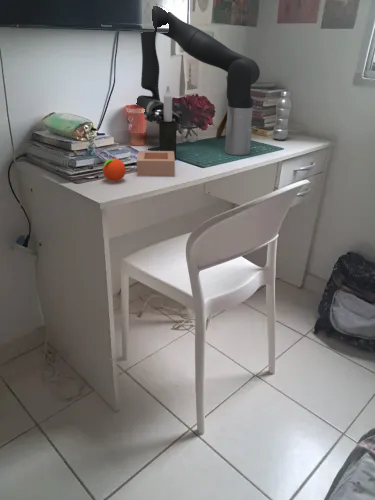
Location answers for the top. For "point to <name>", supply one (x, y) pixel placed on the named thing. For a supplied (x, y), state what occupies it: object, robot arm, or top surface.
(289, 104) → the plastic bottle
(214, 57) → the robot arm
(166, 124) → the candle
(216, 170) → the top surface
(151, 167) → the holder block
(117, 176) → the clementine
